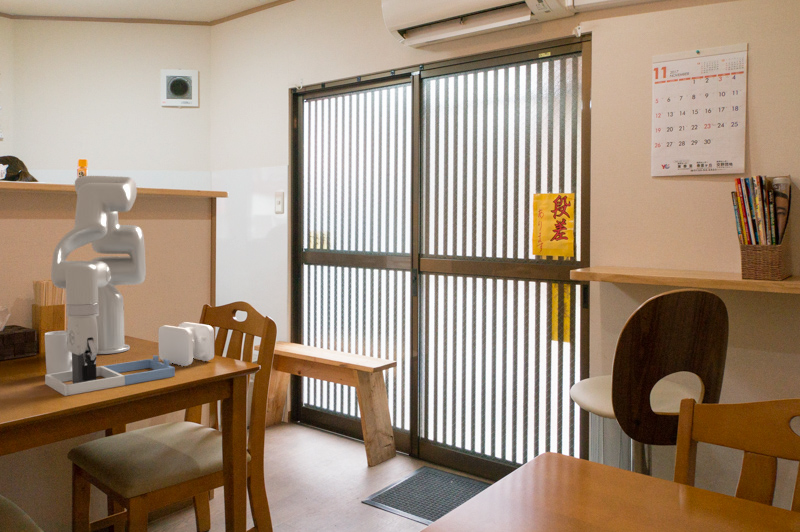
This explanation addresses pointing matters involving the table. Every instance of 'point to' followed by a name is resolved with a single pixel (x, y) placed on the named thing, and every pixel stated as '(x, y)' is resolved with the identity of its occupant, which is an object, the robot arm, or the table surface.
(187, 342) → the cable organizer
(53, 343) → the mug
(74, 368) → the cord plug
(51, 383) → the shallow tray
